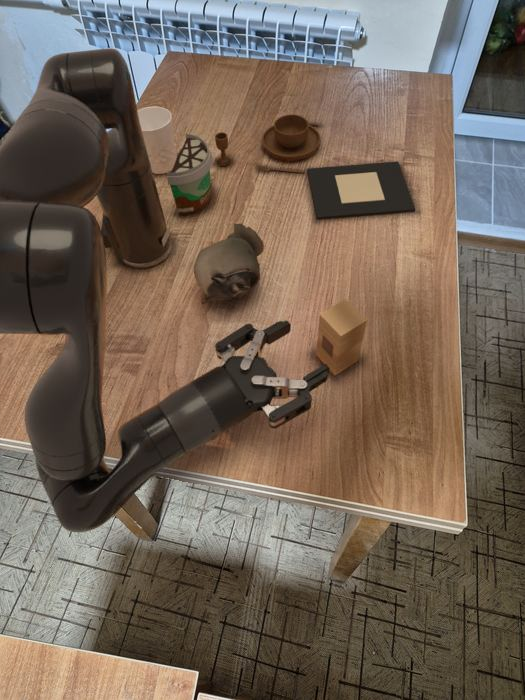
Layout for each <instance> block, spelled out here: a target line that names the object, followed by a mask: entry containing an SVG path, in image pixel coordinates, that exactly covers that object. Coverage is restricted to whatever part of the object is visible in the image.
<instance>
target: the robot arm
mask: <svg viewBox="0 0 525 700" xmlns="http://www.w3.org/2000/svg"><path fill="white" fill-rule="evenodd" d="M40 72H41V73H40V75H39V78H38V83H37V87H36V89H35V92H34V94H33V95H32V97H31V99H30V101H29V103H28V105H27V106H26V107H25V108H24V109H23V111H22V112H21V113H20V115H19V116H18V117H17V119H16V120H15V121H14V123H13V125H12V126H11V128H10V130H9V132H8V134H7V135H6V137H5V139H4V141H3V142H2V143H1V145H0V334H3V335H5V334H6V335H42V336H43V335H45V336H57V335H58V336H59V335H65V338H64V343H63V345H62V348H61V349H60V350H59V353H58V354H57V356H56V357H55V358H54V360H53V362H52V363H51V364H50V365H49V366H48V368H47V369H46V370H45V371H44V373H43V374H42V375H41V376H40V377H39V379H38V381H37V382H36V383H35V385H34V386H33V388H32V389H31V391H30V392H29V395H28V398H27V401H26V403H25V407H24V424H25V430H26V433H27V437H28V440H29V443H30V446H31V449H32V452H33V455H34V457H35V466H36V470H37V473H38V476H39V479H40V481H41V483H42V487H43V489H44V492H45V493H46V495H47V498H48V500H49V502H50V505H51V506H52V508H53V509H52V510H53V511H54V514H55V516H56V518H57V520H58V522H59V524H60V525H61V527H62V528H63V529H64V530H66V531H69V532H71V533H86V532H90V531H93V530H95V529H97V528H99V527H101V526H103V525H104V524H106V523H107V522H108V521H110V520H111V519H112V518H113V517H114V516H115V515H116V514H117V513H118V512H119V511H120V510H121V509H122V507H124V505H126V503H127V502H128V501H129V500H130V499H131V498H132V497H133V496H134V495H135V494H136V493H137V492H138V491H139V490H140V488H142V487H143V486H144V485H145V484H146V483H147V482H148V481H149V480H150V479H151V478H152V477H153V476H154V475H156V474H157V473H158V472H159V471H161V470H162V469H164V468H165V467H168V466H169V465H170V464H172V463H173V462H175V461H177V460H178V459H180V458H182V457H183V456H185V455H186V454H188V453H190V452H192V451H194V450H197V449H199V448H201V447H203V446H205V445H207V444H208V443H210V442H211V441H214V440H216V439H217V438H218V437H220V436H221V435H222V434H224V433H226V432H227V431H229V430H231V429H232V428H233V427H235V426H236V425H238V424H240V423H242V422H244V421H245V420H246V419H248V418H249V417H250V416H252V415H254V413H257V412H263V414H264V416H265V417H266V418H267V420H268V425H269V427H270V428H271V429H273V430H275V429H278V428H280V427H281V426H284V425H285V424H286V423H288V422H290V421H292V420H294V419H296V418H297V417H299V416H301V415H303V414H304V413H306V412H308V411H310V410H311V408H312V402H313V401H312V399H313V396H312V394H311V392H312V391H313V390H316V388H319V387H320V386H322V385H323V384H324V383H326V382H327V380H328V379H329V374H330V370H329V369H330V368H329V367H328V366H327V365H326V364H324V363H323V364H322V365H320V366H319V367H317V368H315V369H313V370H312V371H310V372H309V373H307V374H306V375H304V376H303V377H302V379H289V378H288V377H284V376H283V377H281V376H278V373H277V372H276V371H275V370H274V369H273V368H272V367H270V366H269V364H268V362H267V360H266V359H265V358H264V357H263V356H262V353H263V351H264V349H265V346H266V344H267V345H268V346H270V345H271V344H273V343H274V342H276V341H278V340H279V339H282V338H283V337H284V336H286V335H288V334H289V333H290V332H291V329H292V327H291V326H292V325H291V323H290V322H289V321H288V320H284V321H283V320H280V321H277V322H274V323H273V324H271V325H270V326H267V327H265V328H263V329H257V328H255V327H254V325H253V324H252V323H245V324H244V325H243V326H241V327H239V328H238V329H236V330H235V331H233V332H232V333H230V334H229V335H227V336H225V337H224V338H222V339H221V340H219V341H217V342H216V343H215V345H214V347H215V353H216V357H217V359H219V360H222V361H223V362H224V363H223V364H222V365H220V366H216V367H214V368H212V369H210V370H209V371H207V372H205V373H203V374H202V375H200V376H198V377H197V378H195V379H193V380H191V381H190V382H188V383H186V384H185V385H183V386H181V387H179V388H178V389H176V390H174V391H172V392H171V393H170V394H168V395H167V396H165V398H163V399H162V400H161V401H159V402H157V403H156V404H154V405H152V406H151V407H149V408H147V409H145V410H144V411H143V412H141V413H139V414H137V415H135V416H133V417H131V418H130V419H129V420H126V421H125V422H124V423H122V425H120V426H119V428H118V430H117V440H118V441H117V442H118V444H119V448H120V458H119V460H118V462H117V463H116V465H115V466H114V467H113V468H112V469H111V471H110V469H109V467H108V465H107V463H106V461H105V459H104V458H105V455H106V450H107V436H106V428H105V419H104V413H103V412H104V411H103V400H102V399H103V397H102V396H103V381H104V372H105V371H104V370H105V358H106V357H105V356H106V335H107V333H106V332H107V306H108V305H107V304H108V303H107V301H108V300H107V299H108V297H107V296H108V294H107V293H108V276H107V275H108V274H107V273H108V272H107V271H108V270H107V254H106V249H109V248H110V249H111V248H112V251H113V253H114V257H115V260H116V262H117V263H118V264H125V265H126V266H128V267H131V268H134V269H149V268H151V267H155V266H157V265H159V264H161V263H162V262H164V261H165V260H166V259H167V258H168V257H169V255H170V254H171V252H172V247H173V243H172V240H171V236H170V235H171V231H170V229H169V227H168V226H167V223H166V218H165V215H164V210H163V206H162V203H161V200H160V196H159V192H158V191H159V190H158V188H157V183H156V180H155V177H154V173H153V172H152V168H151V164H150V160H149V156H148V153H147V149H146V145H145V141H144V137H143V133H142V129H141V125H140V121H139V116H138V107H137V101H136V97H135V96H136V95H135V90H134V85H133V81H132V77H131V73H130V70H129V67H128V64H127V62H126V60H125V57H124V56H123V55H122V53H121V52H120V51H119V50H117V49H116V48H110V47H109V48H99V49H98V48H97V49H90V50H81V51H72V52H71V51H70V52H62V53H58V54H55V55H53V56H51V57H50V58H48V59H47V60H46V61H45V63H44V65H43V67H42V69H41V71H40ZM95 198H97V200H98V203H99V205H100V209H101V211H102V218H101V227H100V224H99V221H98V220H97V217H96V216H95V215H94V214H93V212H92V211H91V210H89V209H88V208H86V206H88V204H90V203H91V202H92V201H93V200H94V199H95ZM247 344H248V347H247V350H246V352H245V354H244V355H235V353H236V352H237V351H238V350H239V349H241V348H243V347H244V346H246V345H247ZM289 398H292V399H291V400H290V401H288V402H286V403H284V404H283V405H279V404H275V405H271V403H272V401H273V400H287V399H289Z"/></svg>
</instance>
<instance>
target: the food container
mask: <svg viewBox="0 0 525 700" xmlns="http://www.w3.org/2000/svg"><path fill="white" fill-rule="evenodd" d="M213 163H214V159H213V154H212V152H211V149H210V147H209V145H208V144H207V143H206V141H205V140H204V139H202V137H200V136H198V135H196V134H191V133H185V141H184V144H183V145H182V148H181V149H180V151H179V152H178V153H177V159H176V161H175V164H174V167H173V169H172V171H170V172H167V173H166V179H167V185H168V186H170V190H171V192H172V196H173V200H174V205H175V207H176V211H177V213H178V214H177V215H179V216H188V215H194V214H197V213H200V212H201V211H203V210H204V209H206V208H207V207H208V206H209V205H210V204H211V201H212V195H213V194H212V182H211V180H212V179H211V168H212V167H213Z"/></svg>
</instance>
